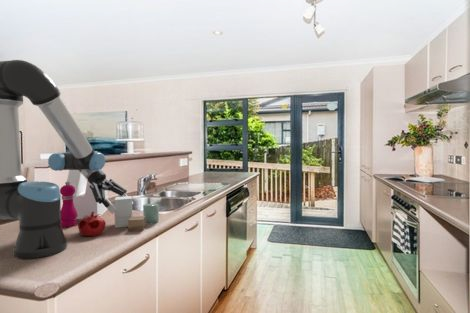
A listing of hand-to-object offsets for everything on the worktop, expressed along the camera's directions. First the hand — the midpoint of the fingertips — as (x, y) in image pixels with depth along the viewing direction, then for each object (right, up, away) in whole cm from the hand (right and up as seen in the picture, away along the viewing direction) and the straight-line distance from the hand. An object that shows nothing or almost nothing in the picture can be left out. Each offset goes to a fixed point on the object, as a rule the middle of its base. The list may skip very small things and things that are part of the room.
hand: (123, 208), depth 129 cm
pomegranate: (-7, -8, -14) cm, 18 cm away
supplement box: (+1, -8, -1) cm, 8 cm away
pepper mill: (-25, -8, -1) cm, 26 cm away
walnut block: (+9, -8, -7) cm, 14 cm away
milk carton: (-27, -7, +20) cm, 34 cm away
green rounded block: (+11, -7, +4) cm, 14 cm away
